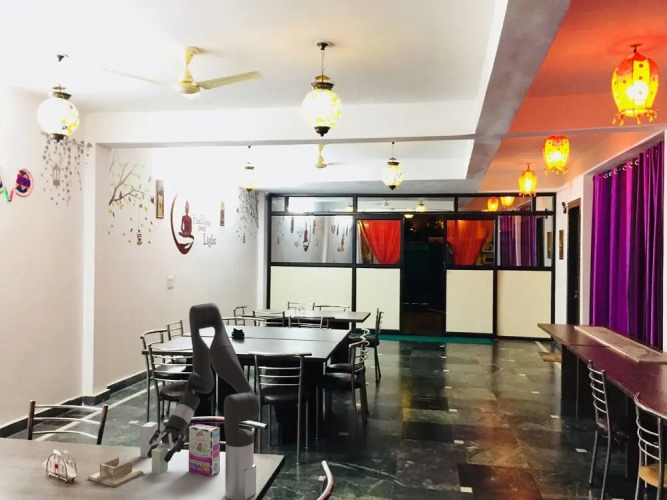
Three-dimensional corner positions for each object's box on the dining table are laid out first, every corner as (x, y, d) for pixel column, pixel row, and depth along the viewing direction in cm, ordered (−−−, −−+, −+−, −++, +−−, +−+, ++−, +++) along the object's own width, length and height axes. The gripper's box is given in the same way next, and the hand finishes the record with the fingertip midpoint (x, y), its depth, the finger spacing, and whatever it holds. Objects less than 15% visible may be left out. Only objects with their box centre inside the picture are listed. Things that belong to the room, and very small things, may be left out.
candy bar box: (220, 472, 192) (220, 427, 192) (211, 477, 187) (211, 431, 187) (197, 466, 197) (197, 422, 197) (187, 471, 192) (188, 426, 193)
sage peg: (167, 470, 193) (167, 448, 194) (159, 474, 190) (159, 451, 190) (159, 468, 195) (159, 446, 195) (151, 471, 192) (151, 450, 192)
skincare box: (149, 457, 205) (150, 427, 206) (140, 456, 206) (140, 426, 206) (158, 452, 211) (158, 422, 212) (148, 451, 212) (148, 421, 212)
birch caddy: (143, 474, 190) (143, 460, 190) (115, 487, 179) (115, 472, 179) (116, 467, 196) (116, 453, 196) (88, 479, 185) (88, 464, 185)
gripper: (161, 411, 203) (137, 451, 192) (189, 416, 196) (166, 457, 186) (171, 421, 207) (148, 460, 197) (198, 427, 201) (176, 467, 191)
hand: (157, 459), depth 192 cm, fingers open, 8 cm apart
